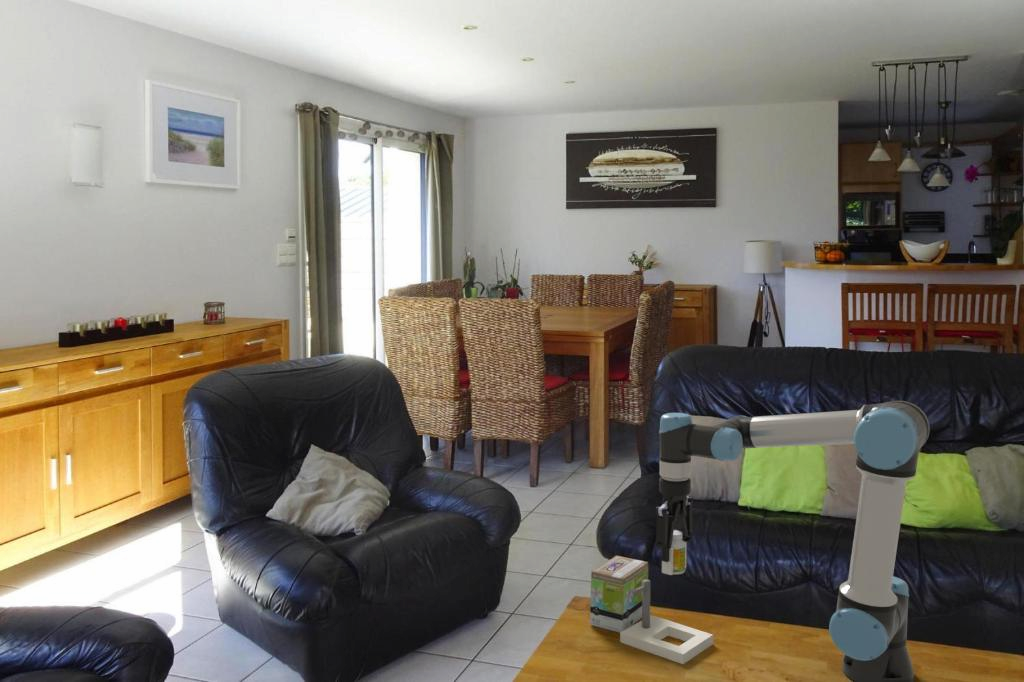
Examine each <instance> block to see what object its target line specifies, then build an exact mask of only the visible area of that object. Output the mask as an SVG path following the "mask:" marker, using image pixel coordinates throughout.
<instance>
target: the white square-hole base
mask: <svg viewBox="0 0 1024 682" xmlns="http://www.w3.org/2000/svg"><path fill="white" fill-rule="evenodd" d="M641 592H642V618H641V620H639V622H638V621H637V622H635V623H634V624H633V625H632V626H630V627H629V628H627V629H626V630H624V631H622V632H619V633H620V634H619V635H620V636H619V638H620V639H619V642H620V643H621V644H624V645H627V646H630V647H632V648H636V649H638V650H641V651H644V652H647V653H650V654H652V655H656V656H659V657H660V658H664V659H667V660H670V661H673V662H675V663H678V664H681V665H684V664H686V663H687V662H689V661H690V660H692V659H693V658H695V657H696V656H698V655H699V654H701V653H703V652H704V651H705V650H707V649H708V648H710V647H711V646H713V645H714V634H713V633H712V634H711V633H709V632H706V631H703V630H699V629H696V628H695V627H694V628H693V627H690V626H688V625H684V624H681V623H678V622H674V621H672V620H668V619H665V618H661V617H660V616H655V615H652V614H651V580H650V579H648V580H647V579H645V580H642V586H641V587H639V588H637V589H635V590H634V591H632V594H633V595H634V596H635V595H637V594H639V593H641ZM666 637H671V638H673V639H677V640H680V641H683V643H682V644H680V645H676V644H674V643H671V642H667V641H665V640H663V639H665V638H666Z"/></svg>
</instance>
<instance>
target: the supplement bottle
mask: <svg viewBox="0 0 1024 682" xmlns="http://www.w3.org/2000/svg"><path fill="white" fill-rule="evenodd" d="M681 539H682V532H681V531H678V530H676V529H674V532H673V538H672V545H671V548H673V575H682V574H684V573H685V572H686V568H685V542H684V541H683V540H681Z"/></svg>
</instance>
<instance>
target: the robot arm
mask: <svg viewBox="0 0 1024 682" xmlns="http://www.w3.org/2000/svg"><path fill="white" fill-rule="evenodd" d="M692 419H693V418H692V415H690V414H689V413H684V412H667V413H664V414H663V415H661V416H660V421H659V431H658V434H659V479H658V486H659V487H658V488H659V489H658V491H659V493H660V494H662V496H663V498H662V502H661V503H662V504H661V506H656V507H655V515H656V527H655V528H656V530H655V531H656V532H655V534H656V535H655V546H656V547H658V548H661V573H662V574H665V575H669V576H673V575H674V574H673V548H671V545H672V538H673V532H674V530H678V531H681V532H682V539H681V540H683V541H684V542H685V569H686V568H687V547H688V546H687V542H689V543H690V542H691V541H692V538H691V537H692V535H693V504H694V497H693V496H688V495H690V494H691V489H692V487H691V485H692V479H691V476H692V457H698V458H699V457H700V458H703V459H704V458H705V459H706V458H707V459H712V460H718V461H720V462H724V461H727V462H729V461H730V462H734V461H737V460H738V459H739V457H740V455H741V454H742V450H743V449H755V448H756V449H757V448H778V447H805V446H807V447H808V446H830V445H831V446H832V445H853V444H854V449H855V451H856V460H855V467H856V469H857V470H858V471H859V473H860V474H861V480H860V481H861V483H860V488H859V497H858V505H857V512H856V518H855V528H854V532H853V533H854V536H853V541H852V548H851V556H850V564H849V571H848V579H847V580H846V581H844V582H842V583H841V584H840V585H839V589H838V595H837V603H836V609H835V612H834V613H833V614H832V615H831V618H830V621H829V624H828V625H829V626H828V627H829V628H828V631H829V635H830V638H831V640H832V642H833V644H834V645H835V646H836V648H837V649H838V650H839V651H840V652H841V653H843V654H844V655H843V657H842V663H841V664H842V666H841V667H842V668H841V669H842V672H843V674H844V675H845V676H846V677H847V678H849V679H850V680H851V681H853V682H914V675H915V671H914V667H913V664H912V659H911V656H910V653H909V650H908V647H907V637H908V634H907V633H908V616H909V615H908V611H909V597H910V593H909V586H908V584H907V581H905V580H903V579H901V578H899V577H897V576H894V573H895V571H894V570H895V562H896V556H897V550H898V544H899V543H898V542H899V537H900V535H899V534H900V529H901V521H902V516H903V515H902V514H903V508H904V500H905V495H906V486H907V483H908V482H909V481H910V480H912V479H915V477H916V473H917V469H918V468H917V467H918V462H919V461H918V460H919V455H920V450H921V448H922V447H924V446H925V444H926V443H927V440H928V438H929V436H930V428H931V427H930V423H929V422H930V421H929V419H928V416H927V415H926V414H925V412H924V411H923V410H922V409H921V408H920V407H919V406H918V405H916V404H914V403H912V402H910V401H905V400H892V401H888V402H882V403H874V404H873V403H872V404H864V405H863V406H862V407H861V408H860V409H853V410H850V409H849V410H838V411H823V412H807V413H792V414H778V415H777V414H775V415H761V416H760V415H759V416H746V415H735V416H731V417H730V418H728V419H726V420H724V421H722V422H719V423H716V424H714V425H701V424H696V423H693V421H692Z"/></svg>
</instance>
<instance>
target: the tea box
mask: <svg viewBox="0 0 1024 682" xmlns="http://www.w3.org/2000/svg"><path fill="white" fill-rule="evenodd" d="M590 579H591V580H590V608H589V609H590V612H589V614H590V615H589V625H590V626H594V627H597V628H600V629H605V630H609V631H613V632H616V633H620V632H622V631H624V630H626V629H627V628H629V627H631V626H633V625H634V624H636V623H638V621H640V620H641V619H642V592H641V593H639V594H637V595H635V596H634V595H633V594H632V591H634V590H635V589H637V588H639V587H641V586H642V580H645V579H647V580H649V562H648V561H644V560H640V559H635V558H630V557H625V556H621V555H615V556H613V557H612V558H611V559H609V560H608V561H606V562H604V563H603V564H601V565H599V566H597V567H596V568H594V569H593V570H592V571H591V575H590Z"/></svg>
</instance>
